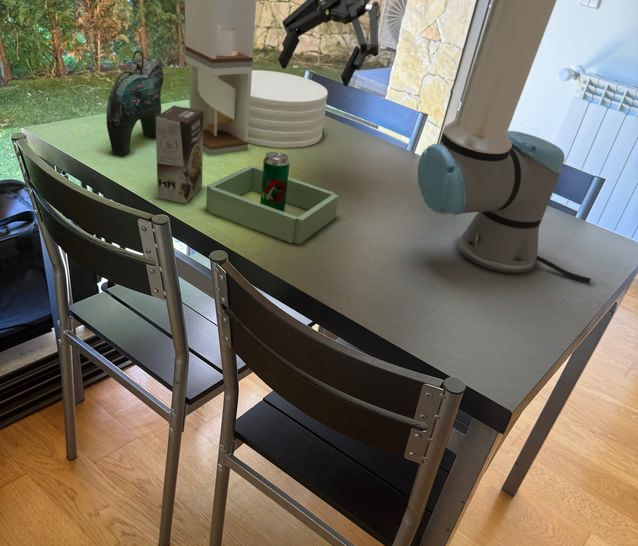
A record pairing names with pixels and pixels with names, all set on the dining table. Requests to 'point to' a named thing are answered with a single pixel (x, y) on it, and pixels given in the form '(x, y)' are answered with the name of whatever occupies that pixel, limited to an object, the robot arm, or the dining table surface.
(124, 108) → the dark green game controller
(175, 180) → the coffee box
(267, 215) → the bin
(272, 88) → the plate stack
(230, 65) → the white tower
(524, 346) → the dining table surface
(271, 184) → the soda can
